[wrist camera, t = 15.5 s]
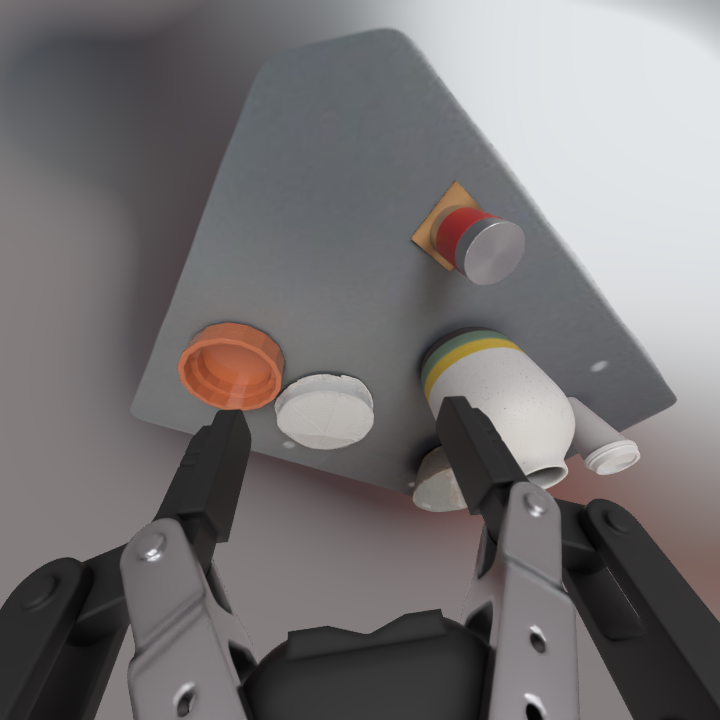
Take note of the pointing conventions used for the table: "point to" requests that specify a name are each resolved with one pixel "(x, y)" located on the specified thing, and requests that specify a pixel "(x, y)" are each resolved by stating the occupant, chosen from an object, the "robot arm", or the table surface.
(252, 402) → the dish
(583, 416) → the coffee cup
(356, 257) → the table surface
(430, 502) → the ceramic bowl
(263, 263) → the table surface
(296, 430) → the white round slab
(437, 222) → the can
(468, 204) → the coaster
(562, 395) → the vase
